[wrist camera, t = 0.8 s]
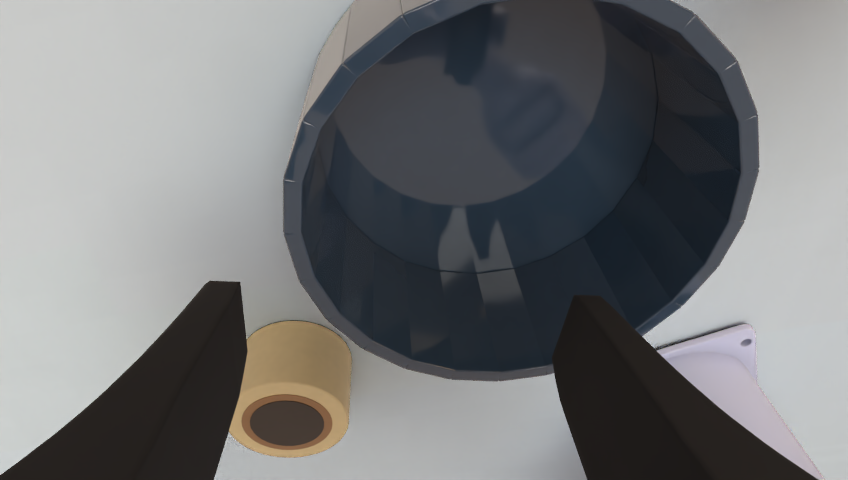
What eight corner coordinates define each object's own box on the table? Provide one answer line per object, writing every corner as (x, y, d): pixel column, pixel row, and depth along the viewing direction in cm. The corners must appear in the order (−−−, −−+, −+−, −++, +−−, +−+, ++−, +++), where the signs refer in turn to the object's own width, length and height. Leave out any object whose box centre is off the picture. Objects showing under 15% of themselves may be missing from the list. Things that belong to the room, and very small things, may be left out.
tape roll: (369, 375, 27) (368, 439, 24) (277, 405, 28) (265, 471, 25) (320, 305, 24) (312, 369, 22) (219, 341, 25) (198, 407, 22)
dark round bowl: (681, 210, 23) (763, 309, 18) (394, 309, 25) (398, 421, 20) (634, -146, 15) (752, -141, 11) (232, 37, 18) (177, 112, 13)
